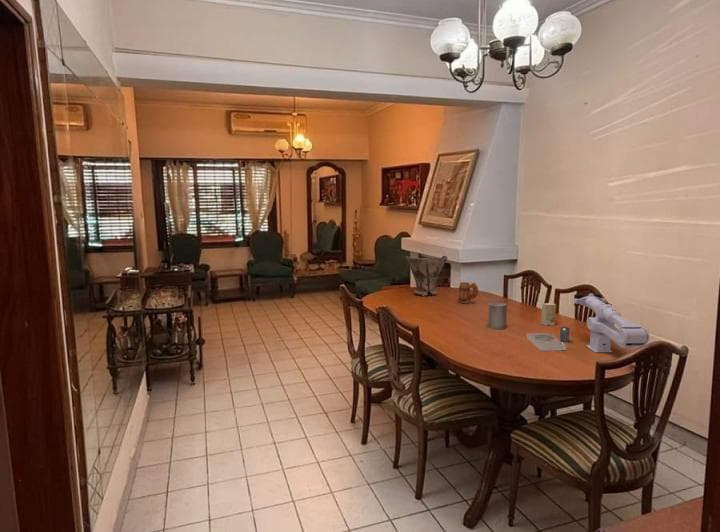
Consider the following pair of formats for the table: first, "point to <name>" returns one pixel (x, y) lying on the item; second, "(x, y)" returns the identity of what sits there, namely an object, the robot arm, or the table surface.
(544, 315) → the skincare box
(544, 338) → the plate
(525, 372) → the table surface
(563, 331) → the bushing
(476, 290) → the mug
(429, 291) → the vessel
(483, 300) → the table surface
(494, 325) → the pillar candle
